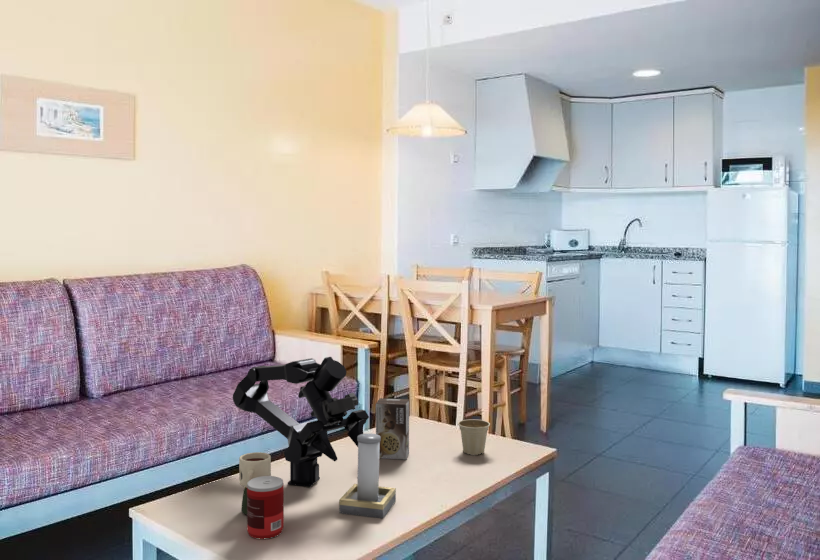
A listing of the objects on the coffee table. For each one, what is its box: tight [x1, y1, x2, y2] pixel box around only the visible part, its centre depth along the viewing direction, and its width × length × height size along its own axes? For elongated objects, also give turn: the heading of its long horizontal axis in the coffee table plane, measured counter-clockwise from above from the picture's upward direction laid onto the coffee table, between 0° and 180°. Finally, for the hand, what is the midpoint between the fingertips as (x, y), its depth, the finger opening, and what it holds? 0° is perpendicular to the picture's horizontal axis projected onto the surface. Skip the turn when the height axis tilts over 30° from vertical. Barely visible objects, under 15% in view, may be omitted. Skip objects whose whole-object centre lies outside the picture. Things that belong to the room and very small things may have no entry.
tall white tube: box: [356, 432, 381, 502], centre depth 165 cm, size 5×5×15 cm
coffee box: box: [375, 397, 410, 460], centre depth 203 cm, size 9×6×16 cm
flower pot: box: [457, 418, 491, 456], centre depth 207 cm, size 9×9×9 cm
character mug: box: [238, 451, 272, 515], centre depth 161 cm, size 11×7×13 cm, turn 178°
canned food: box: [246, 475, 285, 540], centre depth 151 cm, size 8×8×11 cm
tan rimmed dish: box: [338, 483, 397, 519], centre depth 165 cm, size 10×10×3 cm
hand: (350, 455), depth 169 cm, fingers open, 9 cm apart
